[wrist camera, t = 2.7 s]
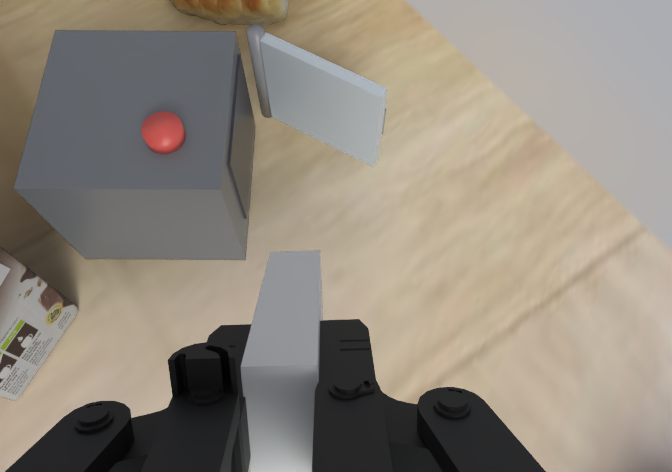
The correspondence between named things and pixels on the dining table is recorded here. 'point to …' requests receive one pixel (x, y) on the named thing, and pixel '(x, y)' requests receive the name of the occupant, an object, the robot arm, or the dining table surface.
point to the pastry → (235, 10)
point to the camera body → (143, 145)
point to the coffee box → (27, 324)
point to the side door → (318, 96)
